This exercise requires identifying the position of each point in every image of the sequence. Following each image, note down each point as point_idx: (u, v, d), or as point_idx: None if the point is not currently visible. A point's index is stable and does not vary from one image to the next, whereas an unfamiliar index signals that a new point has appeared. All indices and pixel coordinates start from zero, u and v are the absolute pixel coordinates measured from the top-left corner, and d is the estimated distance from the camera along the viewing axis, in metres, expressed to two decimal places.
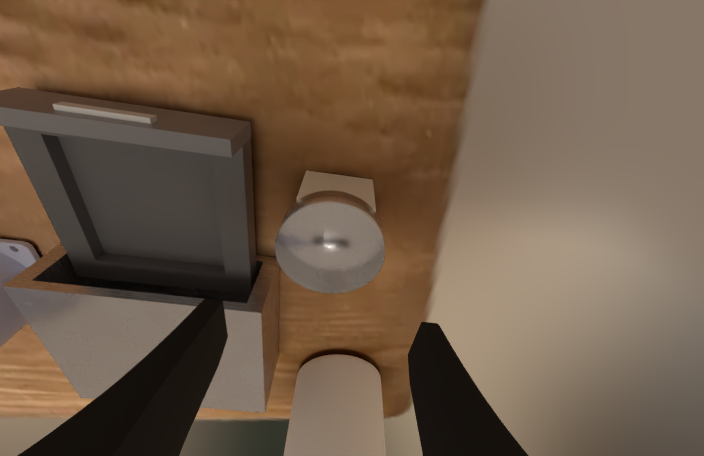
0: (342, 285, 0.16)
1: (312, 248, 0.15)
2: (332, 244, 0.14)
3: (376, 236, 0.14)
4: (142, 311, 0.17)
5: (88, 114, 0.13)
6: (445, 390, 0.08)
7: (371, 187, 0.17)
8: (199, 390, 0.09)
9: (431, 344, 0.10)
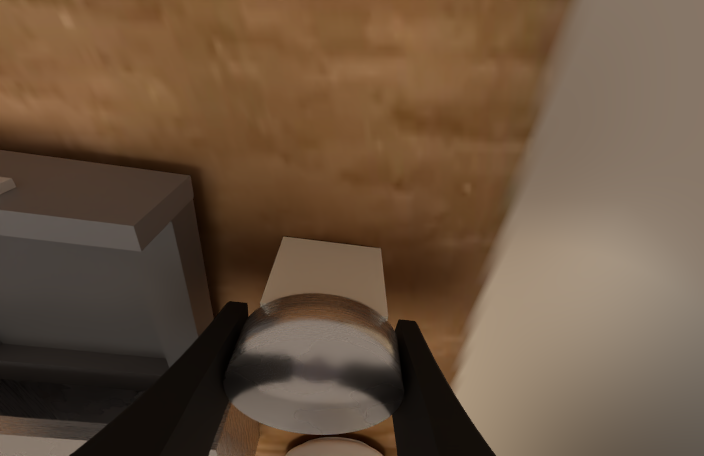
0: (335, 427, 0.10)
1: (284, 388, 0.09)
2: (317, 384, 0.09)
3: (391, 375, 0.08)
4: (40, 447, 0.12)
5: None
6: (416, 387, 0.08)
7: (379, 266, 0.11)
8: None
9: (406, 341, 0.10)
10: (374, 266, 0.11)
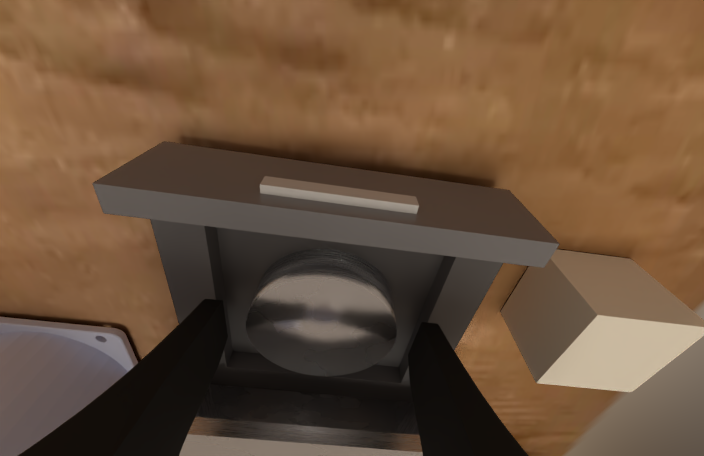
0: (338, 368, 0.12)
1: (296, 328, 0.11)
2: (324, 323, 0.10)
3: (386, 314, 0.10)
4: (309, 454, 0.12)
5: (314, 198, 0.08)
6: (445, 390, 0.08)
7: (650, 276, 0.12)
8: (199, 390, 0.09)
9: (431, 344, 0.10)
10: (645, 277, 0.12)
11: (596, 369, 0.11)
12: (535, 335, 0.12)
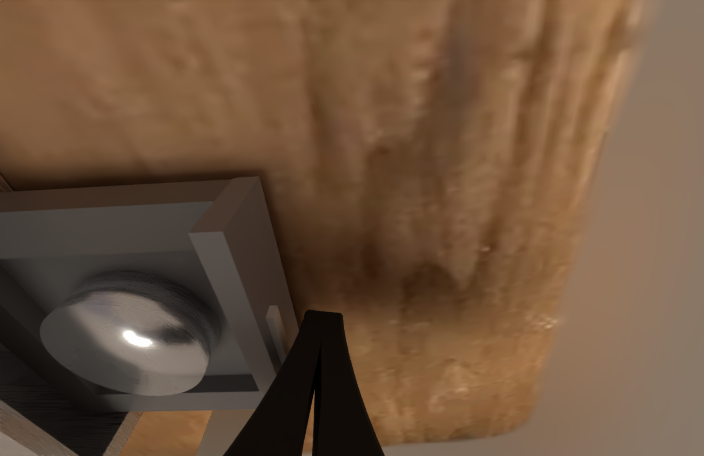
0: (86, 371, 0.11)
1: (120, 341, 0.10)
2: (144, 357, 0.11)
3: (187, 386, 0.12)
4: None
5: (275, 342, 0.10)
6: (320, 379, 0.08)
7: None
8: (311, 400, 0.10)
9: (322, 333, 0.09)
10: None
11: None
12: (225, 435, 0.16)
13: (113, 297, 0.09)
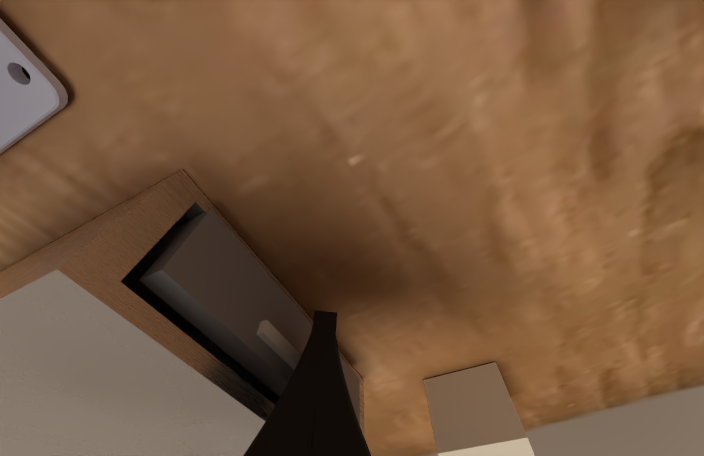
0: None
1: None
2: None
3: None
4: (246, 432, 0.10)
5: (280, 354, 0.10)
6: None
7: None
8: None
9: (312, 332, 0.09)
10: None
11: None
12: (456, 418, 0.15)
13: None
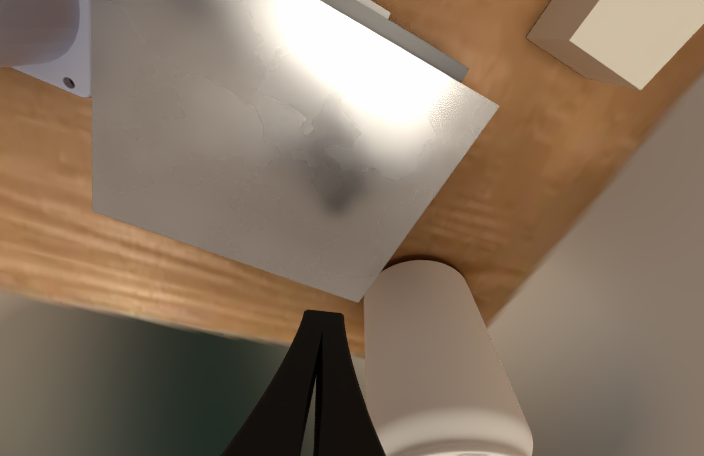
0: None
1: None
2: None
3: None
4: (322, 40, 0.10)
5: None
6: (322, 379, 0.08)
7: None
8: (310, 399, 0.10)
9: (323, 333, 0.09)
10: None
11: (629, 28, 0.11)
12: (575, 5, 0.12)
13: None
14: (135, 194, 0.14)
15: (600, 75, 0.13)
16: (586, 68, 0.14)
